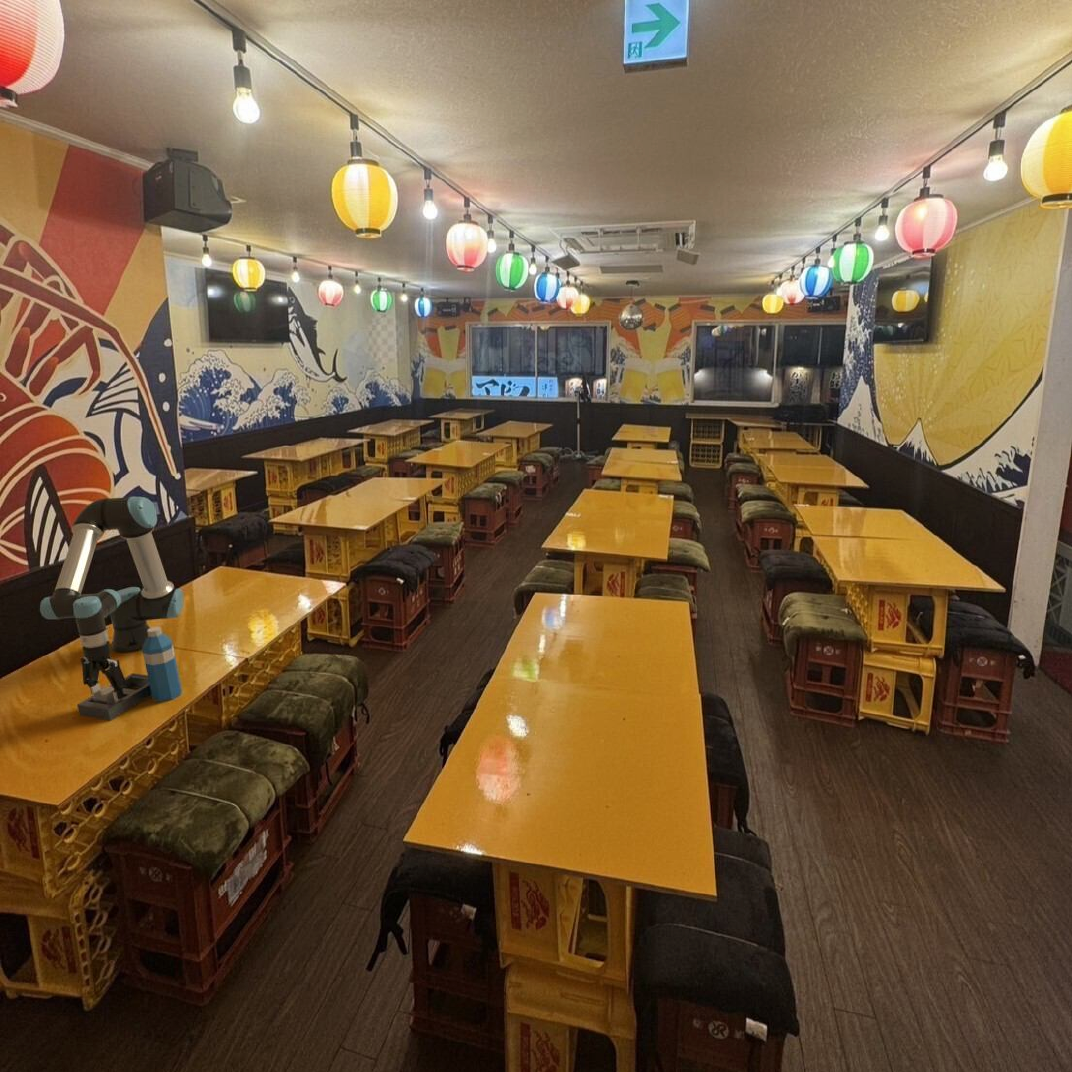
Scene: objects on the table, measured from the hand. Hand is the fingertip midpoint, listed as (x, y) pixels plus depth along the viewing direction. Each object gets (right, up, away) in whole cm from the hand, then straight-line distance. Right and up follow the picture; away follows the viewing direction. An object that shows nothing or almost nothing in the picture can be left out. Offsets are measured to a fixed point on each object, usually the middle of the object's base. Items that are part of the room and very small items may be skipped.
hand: (110, 704), depth 227 cm
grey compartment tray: (+1, 0, +5) cm, 5 cm away
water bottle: (+15, +1, +8) cm, 17 cm away
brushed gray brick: (0, -1, 0) cm, 2 cm away
